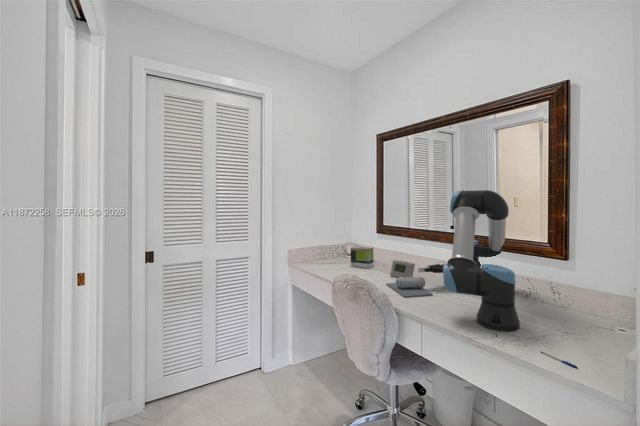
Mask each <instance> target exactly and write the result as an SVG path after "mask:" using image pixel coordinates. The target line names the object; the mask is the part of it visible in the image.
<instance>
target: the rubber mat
mask: <svg viewBox="0 0 640 426" xmlns="http://www.w3.org/2000/svg"><path fill="white" fill-rule="evenodd" d="M385 285H386V286H387V287H388V288H390V289H391V290H392V291H395V292H396V293H397V294H399V296H402V297H403V298H405V299H406V298H419V297H420V298H421V297H431V296H432V297H433V295H434V294H433V293H431V292H430V291H429V290H426V289H424V287H423V288H399V287H397V285H396V282H392V283H391V282H390V283H389V282H388V283H387V282H386V283H385Z"/></svg>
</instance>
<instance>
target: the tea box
mask: <svg viewBox="0 0 640 426" xmlns="http://www.w3.org/2000/svg"><path fill="white" fill-rule="evenodd" d="M374 258H375V257H374V246H373V247H371V246H359V245H358V246H356V245H355V246H353V247H350V267H353V268H365V269H370V268H373V267H374V266H375V265H374V261H375V259H374Z"/></svg>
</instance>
